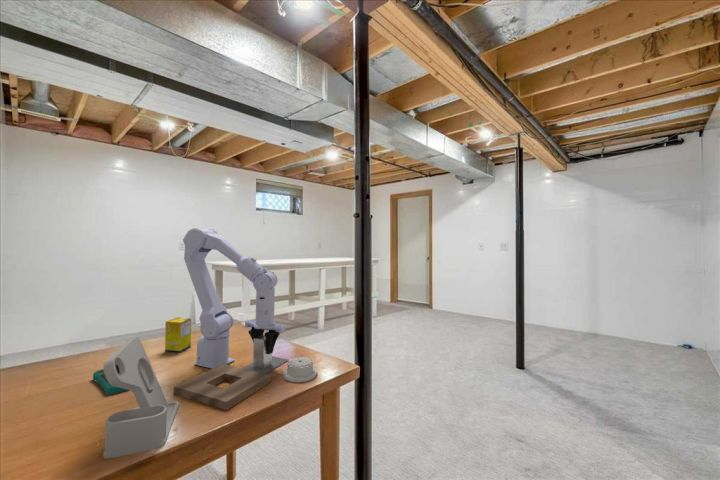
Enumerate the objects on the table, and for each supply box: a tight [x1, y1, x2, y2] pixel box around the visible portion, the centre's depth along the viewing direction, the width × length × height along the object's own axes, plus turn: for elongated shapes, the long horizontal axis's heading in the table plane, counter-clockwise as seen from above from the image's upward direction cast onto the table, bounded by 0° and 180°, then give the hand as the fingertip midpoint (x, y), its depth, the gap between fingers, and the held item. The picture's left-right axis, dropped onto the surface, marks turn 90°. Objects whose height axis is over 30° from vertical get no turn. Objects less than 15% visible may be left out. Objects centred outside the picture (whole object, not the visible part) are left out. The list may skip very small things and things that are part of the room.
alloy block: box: [252, 334, 273, 369], centre depth 97 cm, size 4×4×9 cm
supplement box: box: [164, 316, 192, 354], centre depth 110 cm, size 6×6×11 cm
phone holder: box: [102, 336, 180, 459], centre depth 65 cm, size 17×10×18 cm, turn 22°
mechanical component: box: [282, 356, 318, 383], centre depth 92 cm, size 10×4×10 cm
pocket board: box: [173, 364, 271, 411], centre depth 83 cm, size 18×16×2 cm
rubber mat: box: [242, 355, 289, 374], centre depth 98 cm, size 9×14×1 cm, turn 157°
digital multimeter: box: [92, 368, 128, 396], centre depth 85 cm, size 7×15×3 cm, turn 53°
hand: (264, 352), depth 98 cm, fingers closed on alloy block, 4 cm apart
